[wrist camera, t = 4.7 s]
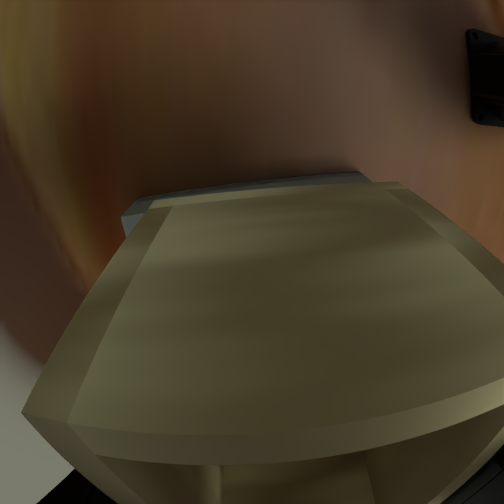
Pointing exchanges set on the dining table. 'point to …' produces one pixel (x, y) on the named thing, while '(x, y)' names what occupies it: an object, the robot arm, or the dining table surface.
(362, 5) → the dining table surface
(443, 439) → the birch crate
